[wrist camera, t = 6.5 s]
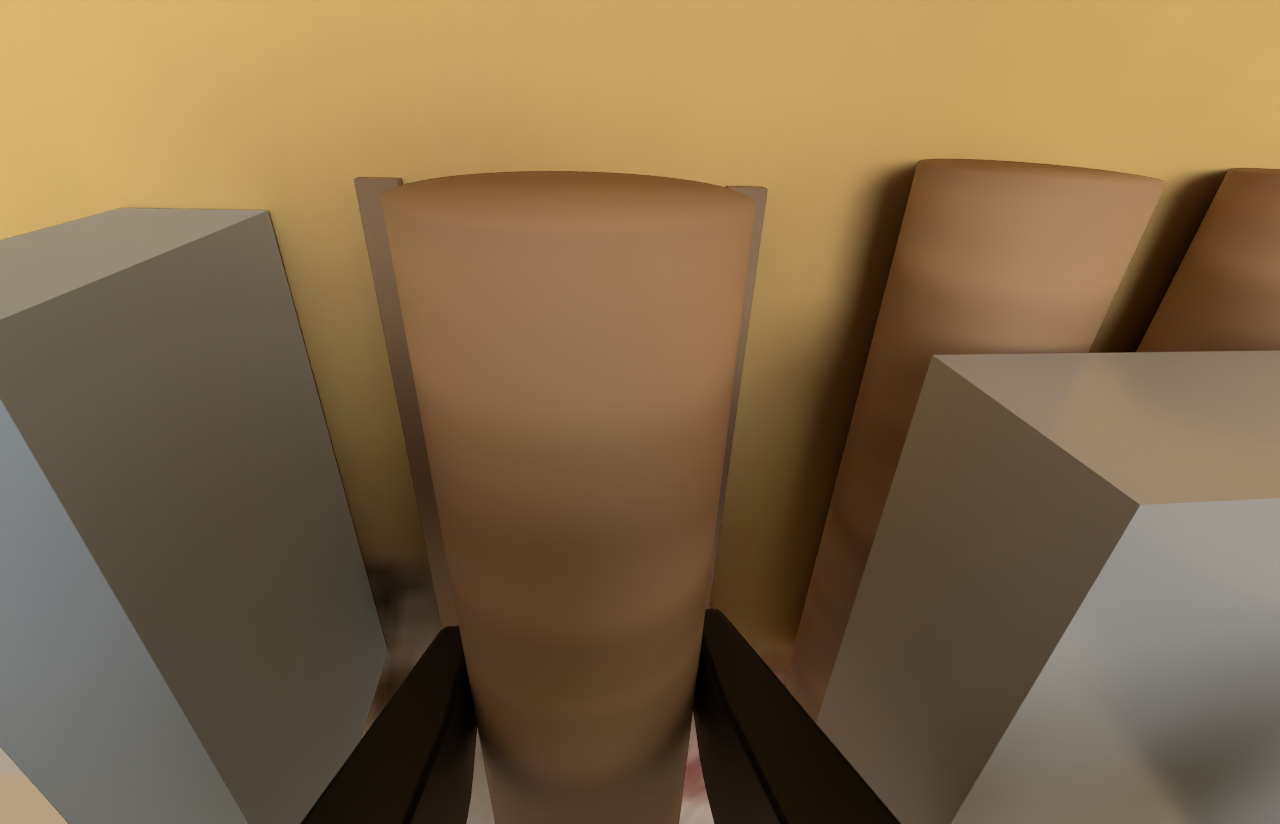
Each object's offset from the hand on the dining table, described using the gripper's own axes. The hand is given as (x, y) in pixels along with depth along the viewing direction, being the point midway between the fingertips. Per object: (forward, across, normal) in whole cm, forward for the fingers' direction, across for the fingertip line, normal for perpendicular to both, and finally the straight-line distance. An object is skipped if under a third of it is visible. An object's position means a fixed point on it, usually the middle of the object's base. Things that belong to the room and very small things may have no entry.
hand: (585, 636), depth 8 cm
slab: (+1, -9, 0) cm, 9 cm away
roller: (+1, 0, 0) cm, 1 cm away
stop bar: (+4, +6, 0) cm, 7 cm away
